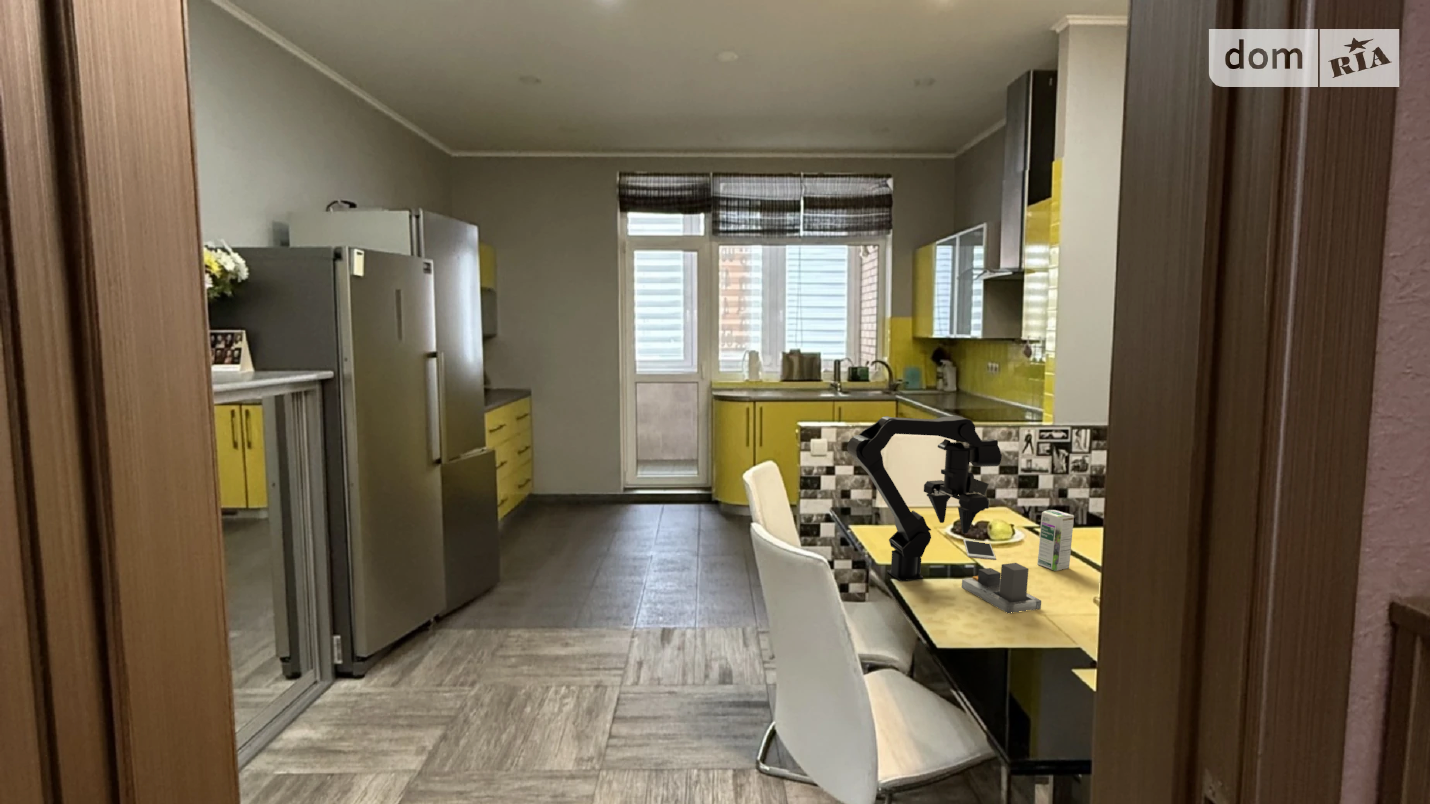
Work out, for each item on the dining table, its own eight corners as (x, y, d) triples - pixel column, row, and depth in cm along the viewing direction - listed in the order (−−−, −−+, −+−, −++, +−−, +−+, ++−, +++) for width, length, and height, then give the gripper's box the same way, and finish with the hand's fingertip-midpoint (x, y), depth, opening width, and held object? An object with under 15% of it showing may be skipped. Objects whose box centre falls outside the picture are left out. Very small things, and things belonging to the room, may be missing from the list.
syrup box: (1036, 564, 194) (1040, 511, 192) (1051, 561, 196) (1055, 508, 195) (1055, 571, 189) (1059, 517, 187) (1070, 568, 191) (1075, 514, 190)
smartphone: (989, 543, 212) (989, 540, 212) (995, 561, 197) (996, 557, 197) (963, 541, 214) (963, 538, 213) (967, 558, 199) (968, 555, 199)
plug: (1011, 608, 164) (1013, 570, 163) (998, 602, 168) (1001, 564, 167) (1025, 606, 166) (1028, 568, 165) (1013, 600, 169) (1016, 562, 168)
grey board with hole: (1008, 613, 162) (1009, 592, 161) (961, 587, 177) (962, 567, 176) (1040, 609, 165) (1042, 587, 164) (992, 583, 180) (993, 563, 179)
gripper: (1009, 473, 176) (1005, 536, 178) (960, 457, 193) (956, 515, 195) (971, 476, 172) (966, 540, 174) (924, 460, 190) (920, 518, 192)
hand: (953, 527), depth 184 cm, fingers open, 9 cm apart
